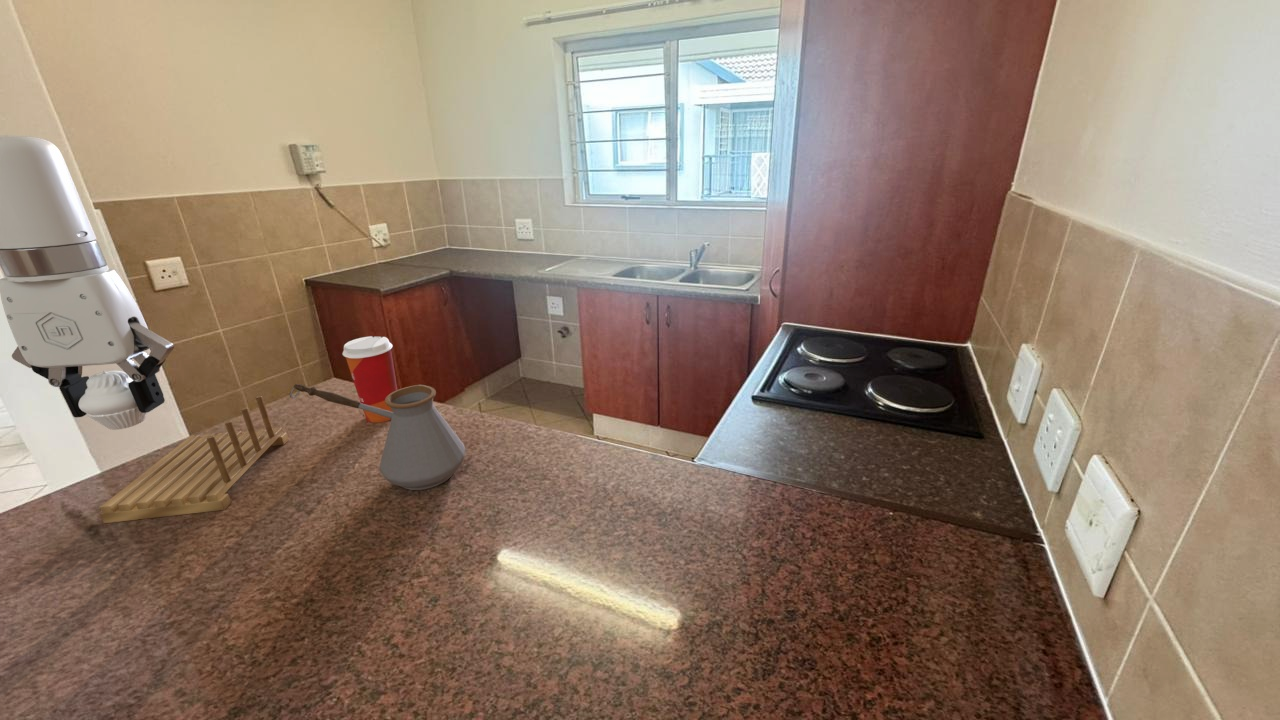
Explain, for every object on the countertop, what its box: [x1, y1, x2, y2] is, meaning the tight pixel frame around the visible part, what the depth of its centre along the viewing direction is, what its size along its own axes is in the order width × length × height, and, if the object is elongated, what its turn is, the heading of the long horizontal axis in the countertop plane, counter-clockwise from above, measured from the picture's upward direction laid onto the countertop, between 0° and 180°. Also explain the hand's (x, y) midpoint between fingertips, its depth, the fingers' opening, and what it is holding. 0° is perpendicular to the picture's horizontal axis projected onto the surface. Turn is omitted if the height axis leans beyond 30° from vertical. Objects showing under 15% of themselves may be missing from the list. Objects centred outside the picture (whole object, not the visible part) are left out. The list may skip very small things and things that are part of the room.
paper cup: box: [341, 335, 398, 424], centre depth 87 cm, size 8×8×14 cm
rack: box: [99, 395, 289, 524], centre depth 72 cm, size 14×18×10 cm
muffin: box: [79, 369, 148, 431], centre depth 60 cm, size 6×6×7 cm
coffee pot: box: [289, 383, 467, 491], centre depth 70 cm, size 21×12×15 cm, turn 92°
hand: (120, 408), depth 60 cm, fingers closed on muffin, 6 cm apart
